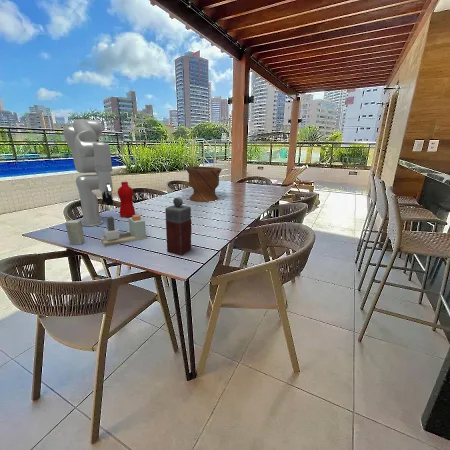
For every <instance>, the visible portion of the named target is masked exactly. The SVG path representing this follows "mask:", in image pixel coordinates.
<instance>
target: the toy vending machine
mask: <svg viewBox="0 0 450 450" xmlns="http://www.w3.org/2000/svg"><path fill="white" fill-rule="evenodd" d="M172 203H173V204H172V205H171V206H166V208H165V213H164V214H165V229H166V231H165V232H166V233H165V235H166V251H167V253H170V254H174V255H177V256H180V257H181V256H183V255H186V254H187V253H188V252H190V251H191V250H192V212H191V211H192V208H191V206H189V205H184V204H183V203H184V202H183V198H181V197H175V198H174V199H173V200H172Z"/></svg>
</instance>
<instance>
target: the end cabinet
mask: <svg viewBox="0 0 450 450" xmlns="http://www.w3.org/2000/svg"><path fill="white" fill-rule="evenodd" d="M128 226H129V232H131V234H132V235H133V236H134V237H135V238H137V237H142V236H146V237H147V234H146V233H147V230H146V221H145V219H143V218H142V217H141V220H137V221H133V220H132V217H129V218H128Z"/></svg>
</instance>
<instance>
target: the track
mask: <svg viewBox="0 0 450 450" xmlns="http://www.w3.org/2000/svg"><path fill="white" fill-rule="evenodd" d="M99 239H100V241H101V243H102V244H103V246H104V247H109V246H115V245H120V244H124V243H130V242H134V241H138V240H139V241H140V240H143V239H147V235H146V236H142V237H137V238H135V237H134V236H133V235H132V234H131V232H130V231H127V232H122V233H120V232H119V238H117V239H112V240H107V237H106V236H105V235H104V236H103V237H100V238H99Z"/></svg>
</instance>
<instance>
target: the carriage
mask: <svg viewBox="0 0 450 450" xmlns="http://www.w3.org/2000/svg"><path fill="white" fill-rule="evenodd" d="M105 219H106V227H107V228H103V233H104V236H106V237H107V240H112V239H117V238H119V234H120V231H119V229H118V228H117V227H115V221H114V220H115V219H114V217H113V216H107V217H105Z"/></svg>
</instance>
